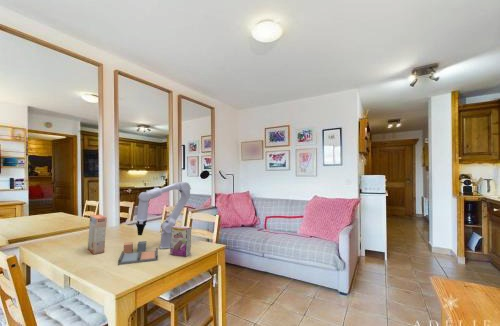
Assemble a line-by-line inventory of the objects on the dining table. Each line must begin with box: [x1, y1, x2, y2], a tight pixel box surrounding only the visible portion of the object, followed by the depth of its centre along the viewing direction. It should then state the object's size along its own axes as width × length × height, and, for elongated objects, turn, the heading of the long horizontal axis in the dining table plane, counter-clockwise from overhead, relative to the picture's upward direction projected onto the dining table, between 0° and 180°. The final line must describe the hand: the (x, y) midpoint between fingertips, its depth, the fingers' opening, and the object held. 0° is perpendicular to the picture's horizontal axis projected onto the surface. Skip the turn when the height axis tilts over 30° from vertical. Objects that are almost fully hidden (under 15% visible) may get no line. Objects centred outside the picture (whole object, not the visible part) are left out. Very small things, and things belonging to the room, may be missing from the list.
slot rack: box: [117, 247, 159, 266], centre depth 125 cm, size 19×14×2 cm
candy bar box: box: [170, 224, 192, 258], centre depth 132 cm, size 11×5×16 cm, turn 71°
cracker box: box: [87, 214, 108, 255], centre depth 136 cm, size 14×6×21 cm, turn 47°
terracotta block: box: [123, 241, 134, 254], centre depth 135 cm, size 4×4×5 cm
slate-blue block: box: [137, 240, 147, 252], centre depth 138 cm, size 4×4×5 cm
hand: (140, 233), depth 138 cm, fingers open, 7 cm apart
